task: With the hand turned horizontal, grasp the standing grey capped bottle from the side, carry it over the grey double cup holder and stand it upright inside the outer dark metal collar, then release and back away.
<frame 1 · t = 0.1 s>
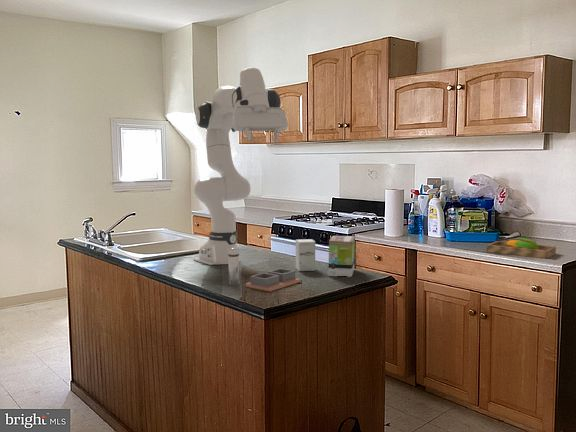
hand: (263, 140, 191), 54 cm above the worktop, tool tilted 30°, fingers open, 8 cm apart
grey capped bottle: (234, 284, 206), on the worktop
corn: (520, 253, 264), resting in wooden tray
grey double cup holder: (273, 284, 205), on the worktop
supplement box: (305, 269, 231), on the worktop
tea box: (341, 273, 224), on the worktop
wooden tray: (520, 252, 264), on the worktop
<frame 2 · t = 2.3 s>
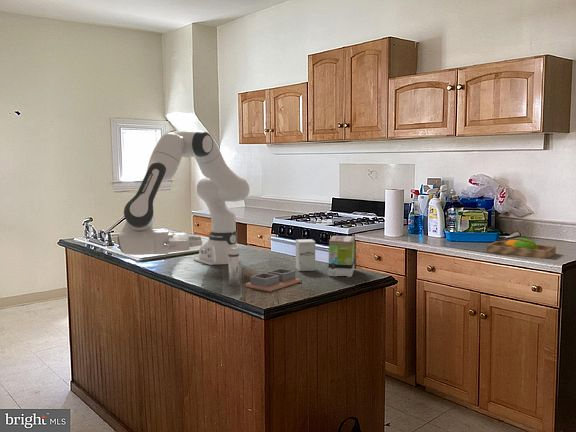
hand: (201, 240, 202), 17 cm above the worktop, tool horizontal, fingers open, 8 cm apart
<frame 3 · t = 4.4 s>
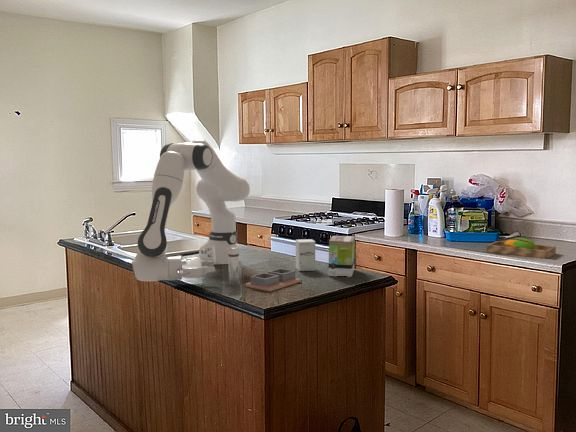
hand: (214, 266, 204), 7 cm above the worktop, tool horizontal, fingers open, 8 cm apart
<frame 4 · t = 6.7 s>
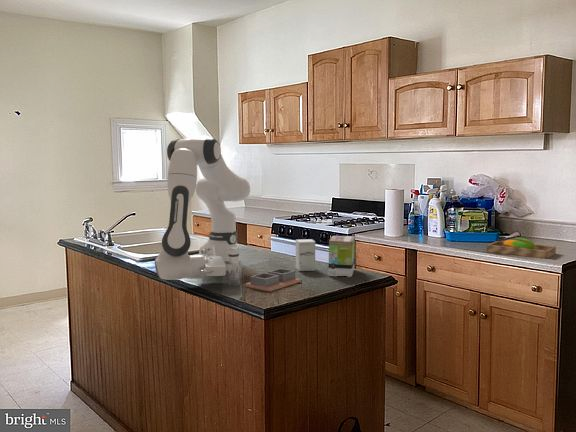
hand: (236, 264, 205), 8 cm above the worktop, tool horizontal, fingers closed on grey capped bottle, 4 cm apart
grey capped bottle: (234, 284, 206), on the worktop, touching gripper
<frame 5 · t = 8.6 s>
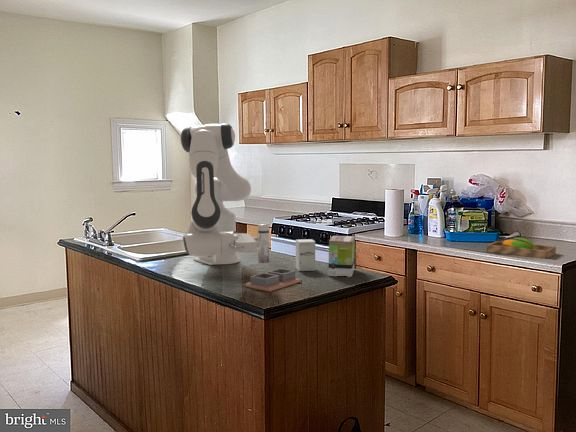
hand: (266, 241, 200), 17 cm above the worktop, tool horizontal, fingers closed on grey capped bottle, 4 cm apart
grey capped bottle: (263, 261, 200), point 10 cm above the worktop, touching gripper
when the fingers open (10 cm above the worktop, at t = 10.5 s): grey capped bottle drops 1 cm, resting on grey double cup holder.
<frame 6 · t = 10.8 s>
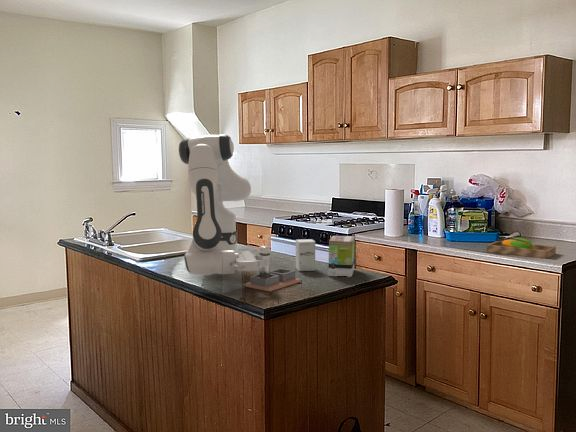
hand: (266, 260, 200), 10 cm above the worktop, tool horizontal, fingers open, 7 cm apart
grey capped bottle: (264, 283, 201), point 1 cm above the worktop, touching grey double cup holder
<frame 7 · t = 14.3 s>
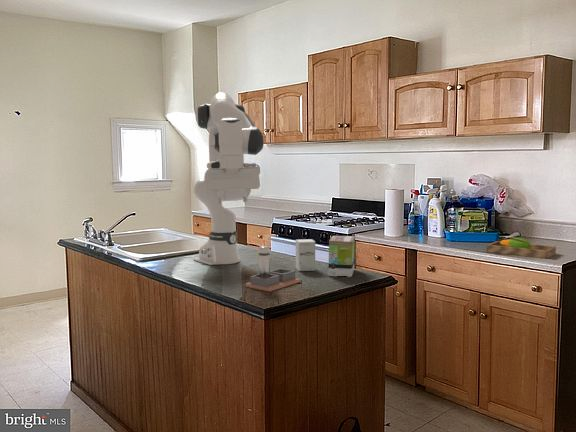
hand: (232, 201, 195), 32 cm above the worktop, tool pointing down, fingers open, 8 cm apart
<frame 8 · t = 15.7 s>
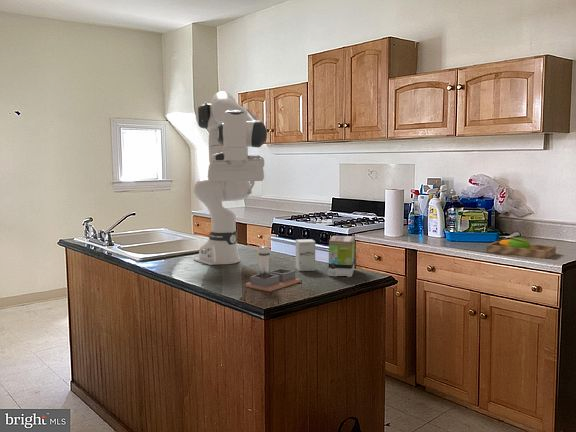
hand: (236, 194, 195), 35 cm above the worktop, tool pointing down, fingers open, 8 cm apart
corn: (513, 252, 266), resting in wooden tray
everything else where it was.
at the end: grey capped bottle 0.1 cm from the target spot on the grey double cup holder, point 1.2 cm above the grey double cup holder's base; grey capped bottle tilted 1°; the gripper is holding nothing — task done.
